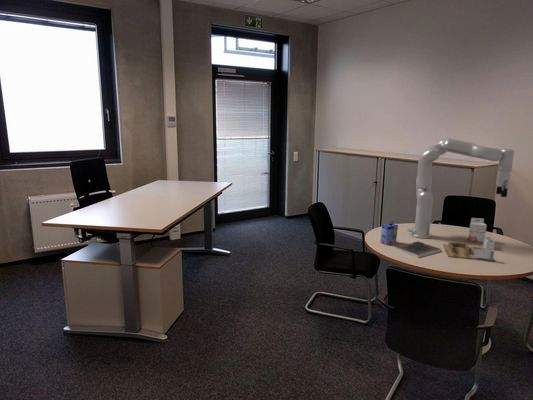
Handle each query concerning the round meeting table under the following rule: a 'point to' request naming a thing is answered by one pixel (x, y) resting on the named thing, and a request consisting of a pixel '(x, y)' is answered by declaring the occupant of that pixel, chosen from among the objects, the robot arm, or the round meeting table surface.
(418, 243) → the picture frame
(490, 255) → the gate
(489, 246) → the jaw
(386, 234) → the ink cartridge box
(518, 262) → the round meeting table surface
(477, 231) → the ink cartridge box
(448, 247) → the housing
